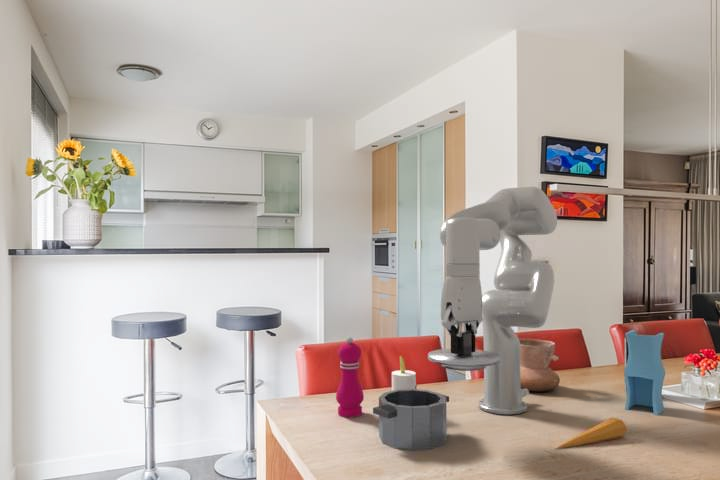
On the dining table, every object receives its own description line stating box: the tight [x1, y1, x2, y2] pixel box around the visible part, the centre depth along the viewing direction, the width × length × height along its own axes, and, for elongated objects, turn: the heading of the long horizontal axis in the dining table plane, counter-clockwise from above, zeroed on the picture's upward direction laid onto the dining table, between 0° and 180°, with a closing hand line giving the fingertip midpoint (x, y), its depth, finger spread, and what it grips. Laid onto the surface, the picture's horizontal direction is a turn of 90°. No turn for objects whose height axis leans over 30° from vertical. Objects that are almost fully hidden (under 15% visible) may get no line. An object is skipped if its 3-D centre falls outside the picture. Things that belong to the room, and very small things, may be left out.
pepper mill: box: [335, 336, 365, 418], centre depth 139 cm, size 7×7×20 cm
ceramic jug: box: [518, 338, 561, 393], centre depth 163 cm, size 18×14×14 cm
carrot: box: [554, 417, 628, 450], centre depth 118 cm, size 20×4×4 cm, turn 114°
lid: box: [427, 331, 500, 372], centre depth 121 cm, size 16×16×8 cm
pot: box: [372, 388, 450, 451], centre depth 121 cm, size 19×15×9 cm
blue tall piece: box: [623, 329, 666, 416], centre depth 141 cm, size 8×8×20 cm
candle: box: [391, 355, 418, 391], centre depth 139 cm, size 6×6×15 cm
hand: (463, 351), depth 121 cm, fingers closed on lid, 3 cm apart
